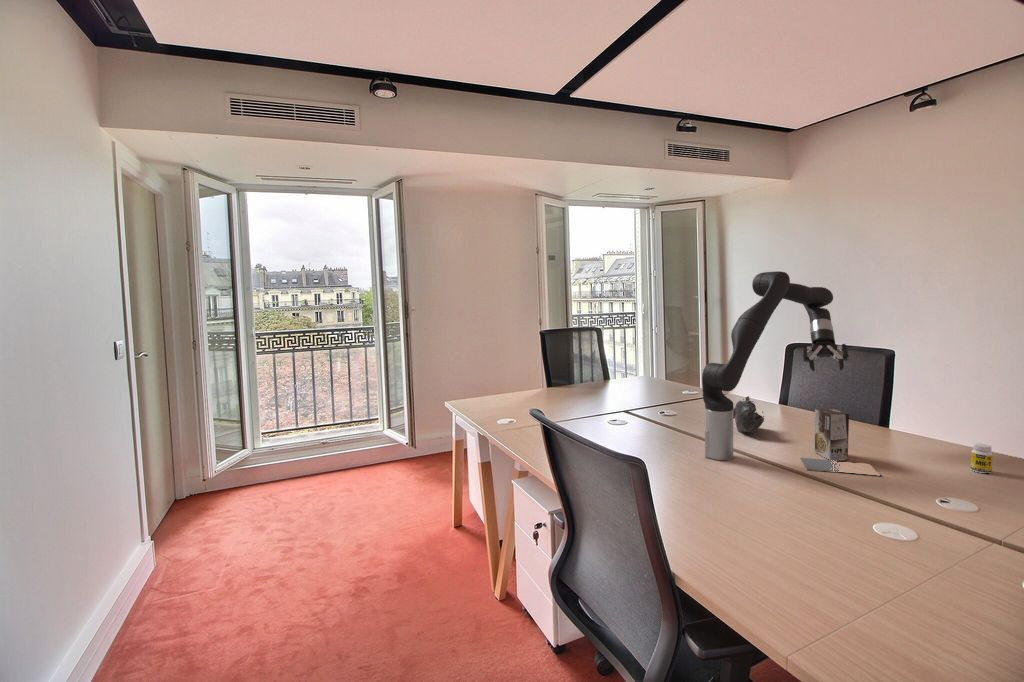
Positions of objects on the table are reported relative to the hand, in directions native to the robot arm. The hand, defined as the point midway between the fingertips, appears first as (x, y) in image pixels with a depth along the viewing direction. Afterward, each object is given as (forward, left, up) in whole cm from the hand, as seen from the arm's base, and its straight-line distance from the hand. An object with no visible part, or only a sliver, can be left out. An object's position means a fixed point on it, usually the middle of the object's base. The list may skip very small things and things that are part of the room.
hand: (827, 369), depth 181 cm
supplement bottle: (+38, -19, -28) cm, 51 cm away
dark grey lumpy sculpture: (-26, +8, -28) cm, 39 cm away
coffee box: (-1, -15, -28) cm, 32 cm away
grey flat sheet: (-1, -26, -28) cm, 38 cm away
